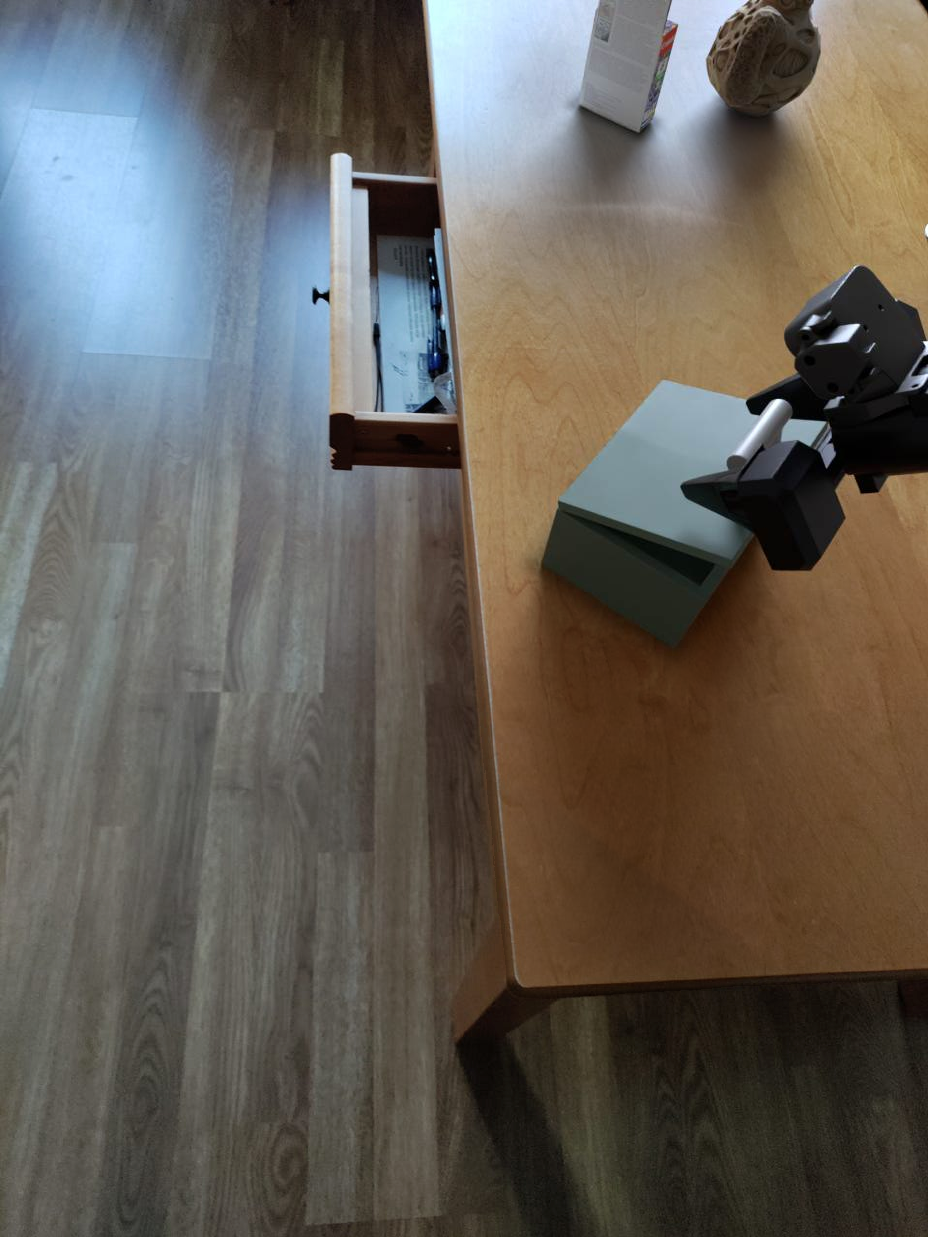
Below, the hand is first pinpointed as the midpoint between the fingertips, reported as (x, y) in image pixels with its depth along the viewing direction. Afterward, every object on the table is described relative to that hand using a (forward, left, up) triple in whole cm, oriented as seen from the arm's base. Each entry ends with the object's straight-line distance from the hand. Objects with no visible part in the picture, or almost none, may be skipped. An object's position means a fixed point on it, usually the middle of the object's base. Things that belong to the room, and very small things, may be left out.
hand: (717, 446), depth 56 cm
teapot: (-13, -62, -12) cm, 64 cm away
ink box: (+2, -58, -12) cm, 59 cm away
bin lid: (+1, 0, -3) cm, 3 cm away
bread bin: (+1, -1, -12) cm, 12 cm away
